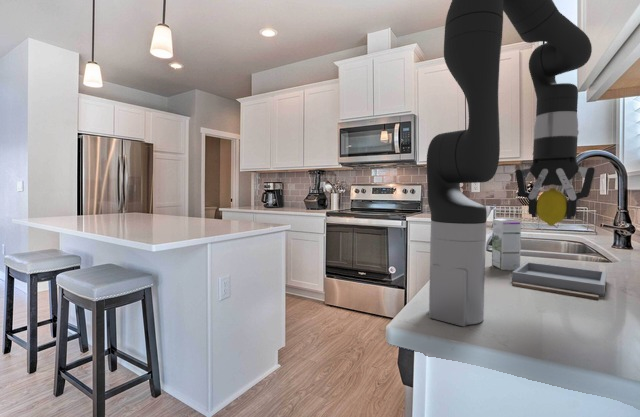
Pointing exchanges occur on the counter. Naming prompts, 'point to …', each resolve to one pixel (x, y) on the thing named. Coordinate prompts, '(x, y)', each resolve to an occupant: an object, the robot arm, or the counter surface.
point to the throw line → (556, 290)
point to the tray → (561, 278)
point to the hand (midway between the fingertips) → (551, 217)
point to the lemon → (552, 206)
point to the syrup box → (506, 243)
